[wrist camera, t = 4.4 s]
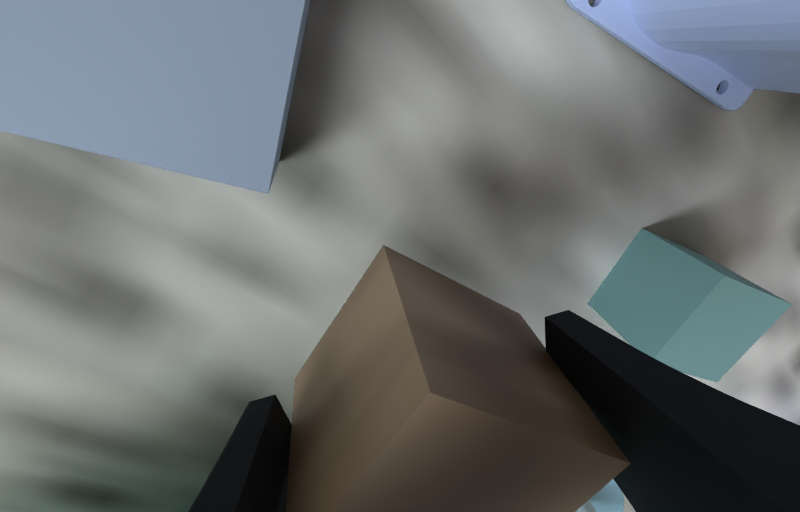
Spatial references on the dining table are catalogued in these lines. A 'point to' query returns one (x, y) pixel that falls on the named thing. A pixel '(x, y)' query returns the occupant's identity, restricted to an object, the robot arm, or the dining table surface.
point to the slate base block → (155, 80)
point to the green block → (684, 307)
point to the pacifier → (605, 500)
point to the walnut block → (438, 407)
